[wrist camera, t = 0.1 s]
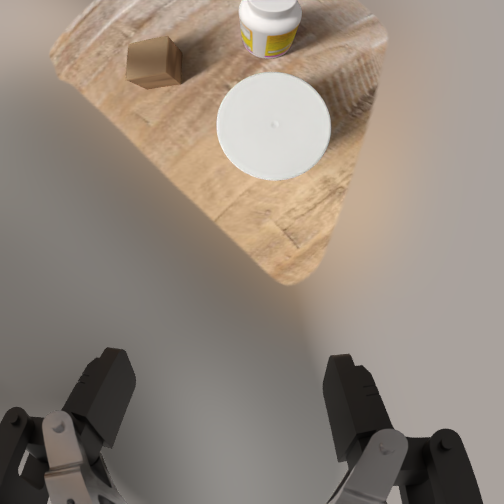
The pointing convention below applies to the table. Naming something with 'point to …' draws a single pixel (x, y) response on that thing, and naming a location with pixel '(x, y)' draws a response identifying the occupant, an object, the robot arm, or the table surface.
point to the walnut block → (154, 63)
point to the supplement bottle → (269, 26)
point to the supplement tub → (273, 126)
